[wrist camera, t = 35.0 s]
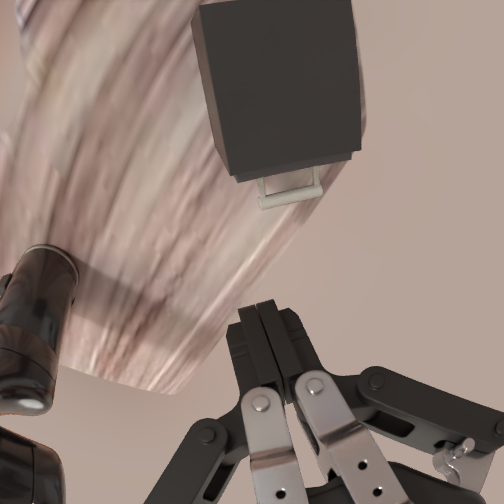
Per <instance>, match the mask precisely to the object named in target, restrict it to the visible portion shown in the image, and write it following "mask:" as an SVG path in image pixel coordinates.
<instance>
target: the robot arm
mask: <svg viewBox="0 0 504 504" xmlns="http://www.w3.org/2000/svg"><path fill="white" fill-rule="evenodd" d="M78 280H79V276H78V271H77V268H76V266H75V264H74V262H73V261H72V260H71V258H70V257H69V256H68V255H67V254H65V253H64V252H63V251H61V250H60V249H58V248H56V247H53V246H50V245H43V244H41V245H35V246H32V247H30V248H29V249H27V250H26V251H25V253H24V254H23V256H22V258H21V261H20V262H19V263H17V265H16V267H15V269H14V270H13V272H12V274H11V273H10V274H7V275H4V276H3V277H2V279H1V281H0V296H1V297H0V416H1V415H7V414H8V415H9V414H13V415H26V416H37V415H42V414H45V413H47V412H48V411H49V410H50V409H51V407H52V404H53V399H54V392H55V384H56V378H57V372H58V365H59V359H60V354H61V349H62V344H63V339H64V334H65V329H66V325H67V321H68V316H69V312H70V309H71V307H72V305H73V303H74V299H75V298H74V299H73V297H74V293H75V290H76V288H77V285H78ZM256 308H257V309H256ZM238 313H239V316H240V320H241V322H238V323H234V324H231V325H228V330H227V334H226V339H227V342H228V347H229V351H230V355H231V358H232V363H233V366H234V371H235V375H236V378H237V382H238V386H239V390H240V397H239V401H238V403H237V405H236V406H235V407H234V408H233V409H232V410H231V411H230V412H228V413H227V414H225V415H224V416H222V417H220V418H218V419H216V420H215V419H211V418H205V419H201V420H199V421H197V422H196V423H194V424H193V425H192V426H191V428H190V429H189V431H188V433H187V434H186V436H185V438H184V439H183V441H182V443H181V444H180V446H179V448H178V449H177V451H176V452H175V454H174V456H173V457H172V459H171V461H170V462H169V464H168V466H167V467H166V469H165V470H164V472H163V474H162V475H161V477H160V479H159V480H158V482H157V483H156V485H155V486H154V488H153V490H152V491H151V493H150V494H149V496H148V498H147V499H146V500H145V502H144V504H217V503H218V501H219V499H220V497H221V496H222V494H223V492H224V490H225V489H226V487H227V485H228V483H229V481H230V480H231V478H232V476H233V474H234V472H235V470H236V468H237V466H238V464H239V463H240V461H241V460H242V459H243V458H245V457H247V456H248V455H250V469H251V474H252V479H253V484H254V489H255V494H256V499H257V504H486V502H485V500H484V499H483V497H482V496H481V495H480V492H481V489H482V487H483V484H484V482H485V479H486V476H487V474H488V471H489V468H490V465H491V462H492V460H493V457H494V454H495V451H496V450H497V449H498V448H500V447H502V446H503V445H504V412H501V411H498V410H495V409H492V408H489V407H486V406H483V405H480V404H477V403H475V402H471V401H469V400H466V399H463V398H460V397H458V396H455V395H452V394H449V393H447V392H444V391H442V390H439V389H436V388H434V387H431V386H429V385H426V384H423V383H421V382H418V381H416V380H413V379H411V378H408V377H406V376H403V375H401V374H398V373H396V372H393V371H391V370H388V369H386V368H383V367H380V366H373V367H369V368H367V369H365V370H364V371H362V372H361V374H360V375H350V376H338V375H334V374H331V373H330V372H328V371H326V370H325V369H324V367H323V366H322V364H321V363H320V360H319V358H318V356H317V354H316V352H315V350H314V348H313V345H312V343H311V341H310V339H309V337H308V336H307V333H306V331H305V329H304V327H303V324H302V322H301V320H300V319H299V316H298V315H297V314H296V313H295V312H293V311H292V310H291V309H290V308H286V309H283V310H280V311H278V309H277V306H276V304H275V302H274V300H273V299H271V300H268V301H265V302H261V303H257V304H256V306H255V305H250V306H247V307H243V308H240V309H238ZM284 397H285V398H284ZM285 400H286V402H287V404H290V403H293V405H294V407H295V410H296V412H297V419H298V421H299V423H300V425H301V428H302V430H303V432H304V434H305V436H306V438H307V440H308V442H309V444H310V446H311V448H312V450H313V452H314V454H315V457H316V459H317V463H318V466H319V468H320V470H321V472H322V474H323V476H324V478H325V480H326V484H325V485H323V486H320V487H312V488H305V487H304V483H303V479H302V476H301V472H300V468H299V464H298V461H297V457H296V454H295V451H294V448H293V444H292V440H291V436H290V432H289V429H288V425H287V421H286V416H285V409H284V405H285ZM368 429H369V430H372V431H374V432H376V433H379V434H381V435H383V436H386V437H388V438H390V439H393V440H395V441H398V442H400V443H403V444H405V445H408V446H410V447H413V448H416V449H418V450H421V451H423V452H426V453H429V454H432V455H433V465H434V468H435V469H436V470H437V471H438V472H440V473H442V474H443V475H444V476H445V477H446V479H447V481H448V482H446V481H443V480H440V479H438V478H435V477H432V476H430V475H427V474H425V473H422V472H420V471H417V470H415V469H413V468H410V467H408V466H405V465H403V464H400V463H397V462H390V461H386V459H385V457H384V456H383V454H382V452H381V450H380V449H379V447H378V445H377V443H376V442H375V440H374V438H373V437H372V435H371V433H370V432H369V430H368ZM0 504H66V486H65V476H64V469H63V466H62V462H61V460H60V458H59V456H58V454H57V453H56V452H55V451H54V450H53V449H51V448H49V447H47V446H45V445H43V444H40V443H38V442H35V441H33V440H31V439H27V438H25V437H23V436H21V435H19V434H16V433H14V432H12V431H10V430H7V429H5V428H3V427H1V426H0Z"/></svg>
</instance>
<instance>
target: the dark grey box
mask: <svg viewBox="0 0 504 504" xmlns="http://www.w3.org/2000/svg"><path fill="white" fill-rule="evenodd" d="M191 27H192V33H193V38H194V43H195V48H196V53H197V58H198V64H199V69H200V74H201V79H202V84H203V89H204V94H205V99H206V104H207V109H208V114H209V119H210V124H211V128H212V133H213V138H214V143H215V147H216V149H217V151H218V153H219V155H220V157H221V159H222V161H223V163H224V165H225V167H226V169H227V171H228V172H229V174H230V176H233V175H237V174H241V173H246V172H250V171H254V170H259V169H263V168H268V167H273V166H277V165H282V164H287V163H292V162H297V161H302V160H307V159H313V158H318V157H324V156H329V155H335V154H341V153H347V152H353V151H360V150H361V105H360V85H359V70H358V58H357V47H356V37H355V28H354V20H353V13H352V6H351V0H234V1H226V2H218V3H212V4H205V5H199V6H198V7H197V9H196V11H195V14H194V16H193V19H192V21H191Z"/></svg>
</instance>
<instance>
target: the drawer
mask: <svg viewBox="0 0 504 504" xmlns="http://www.w3.org/2000/svg"><path fill="white" fill-rule="evenodd" d="M346 160H351V152H347V153H341V154H335V155H329V156H324V157H318V158H313V159H307V160H302V161H297V162H292V163H287V164H282V165H277V166H273V167H268V168H263V169H259V170H254V171H250V172H246V173H241V174H237V175H234V177H235V179H236V181H237V183H240V182H245V181H249V180H253V179H257V183H258V189H259V196H260V197H258V205H259V208H260V210H265V209H269V208H273V207H277V206H281V205H285V204H290V203H294V202H298V201H302V200H306V199H311V198H315V197H319V196H322V195H323V188H322V186H321V184H320V179H319V165H324V164H330V163H335V162H341V161H346ZM309 167H312V176H313V185H310V186H305V187H300V188H296V189H292V190H287V191H283V192H279V193H274V194H270V195H266V191H265V184H264V177H266V176H271V175H275V174H280V173H285V172H289V171H294V170H299V169H304V168H309Z"/></svg>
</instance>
